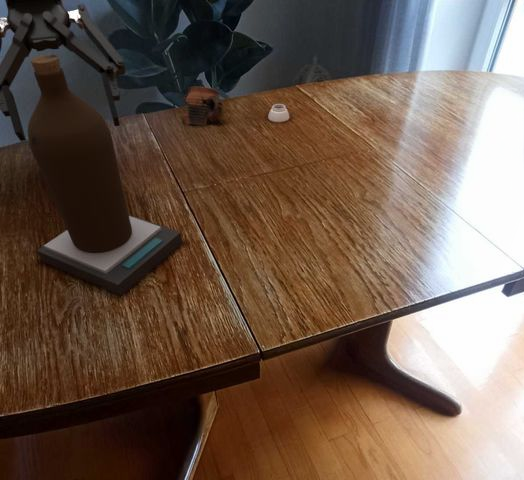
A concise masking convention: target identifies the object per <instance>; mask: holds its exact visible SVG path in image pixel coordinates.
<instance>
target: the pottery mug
mask: <svg viewBox="0 0 524 480" xmlns="http://www.w3.org/2000/svg"><path fill="white" fill-rule="evenodd" d="M186 91H187V93H185V95H184V97H183V99H182V101H183V102H184V101H185V103H186V105H187V107H186V108H187V111H188V112H187V113H184V114H183V119H184V123H185V124H186V125H193V126H198V127H205V126H207V125H208V120H209V121H210V122H212V123H213V122H216V121H217V119H218V117H219V116H220V115H221V113H222V110H223V101H222V99H221V98H220V97H219V94H220V92H219V91H218V90H217V89H214V88H211V87H207V86H197V85H196V86H195V85H194V86H188V87H187V88H186Z"/></svg>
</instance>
